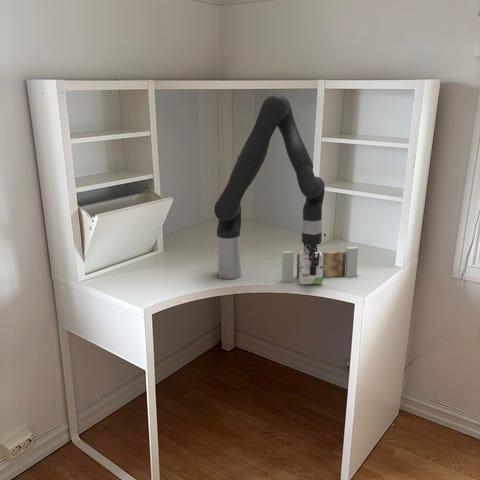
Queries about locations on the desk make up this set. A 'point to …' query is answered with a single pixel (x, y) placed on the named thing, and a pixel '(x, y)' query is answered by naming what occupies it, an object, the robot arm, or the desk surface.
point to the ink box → (305, 270)
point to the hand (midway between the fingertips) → (310, 272)
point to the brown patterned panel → (331, 264)
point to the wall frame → (289, 263)
